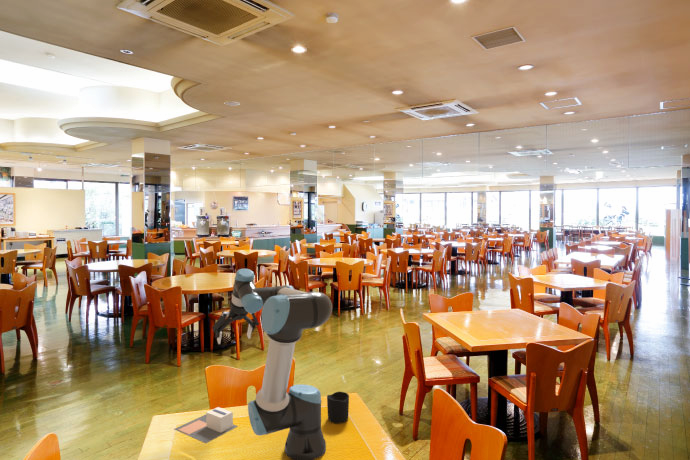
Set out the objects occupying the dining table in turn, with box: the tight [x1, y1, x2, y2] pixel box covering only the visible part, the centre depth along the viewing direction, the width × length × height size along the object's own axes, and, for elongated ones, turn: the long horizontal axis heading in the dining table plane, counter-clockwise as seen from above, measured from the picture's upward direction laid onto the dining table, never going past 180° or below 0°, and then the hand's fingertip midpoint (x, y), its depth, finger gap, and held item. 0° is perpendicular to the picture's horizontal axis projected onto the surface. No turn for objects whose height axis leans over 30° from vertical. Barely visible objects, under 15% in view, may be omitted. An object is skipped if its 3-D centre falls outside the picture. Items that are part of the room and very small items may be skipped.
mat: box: [174, 414, 239, 444], centre depth 172 cm, size 20×16×1 cm
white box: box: [205, 406, 234, 433], centre depth 172 cm, size 9×6×6 cm, turn 56°
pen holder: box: [326, 391, 350, 424], centre depth 180 cm, size 9×9×10 cm
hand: (233, 339), depth 188 cm, fingers open, 13 cm apart
